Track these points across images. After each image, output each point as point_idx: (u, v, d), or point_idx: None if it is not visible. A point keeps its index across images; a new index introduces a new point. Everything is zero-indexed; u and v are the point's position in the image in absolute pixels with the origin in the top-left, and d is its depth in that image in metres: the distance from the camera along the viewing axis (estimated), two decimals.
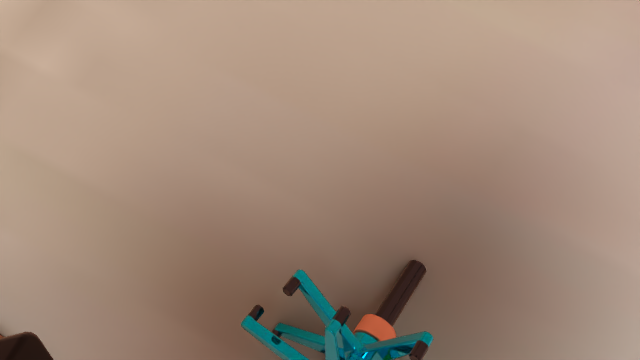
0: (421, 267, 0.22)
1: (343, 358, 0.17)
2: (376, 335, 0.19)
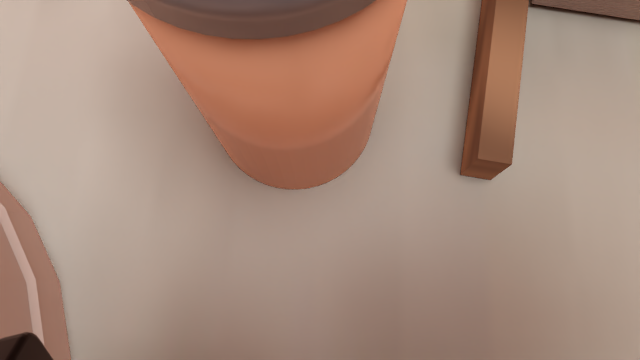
0: None
1: None
2: None
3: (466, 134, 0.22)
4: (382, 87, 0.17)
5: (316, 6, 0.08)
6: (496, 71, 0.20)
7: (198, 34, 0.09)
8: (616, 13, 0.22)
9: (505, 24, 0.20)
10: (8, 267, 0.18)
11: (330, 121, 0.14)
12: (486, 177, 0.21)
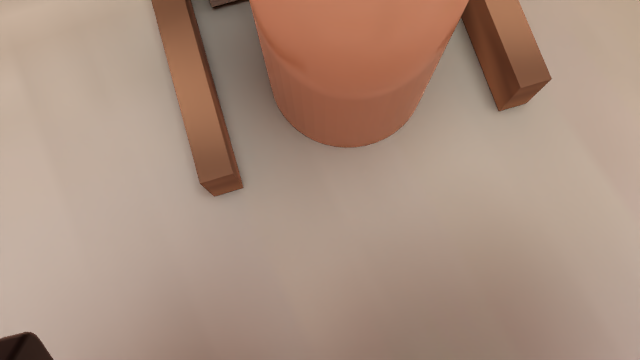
0: None
1: None
2: None
3: None
4: None
5: None
6: (184, 93, 0.20)
7: None
8: None
9: (175, 45, 0.20)
10: None
11: (416, 59, 0.15)
12: (236, 188, 0.21)
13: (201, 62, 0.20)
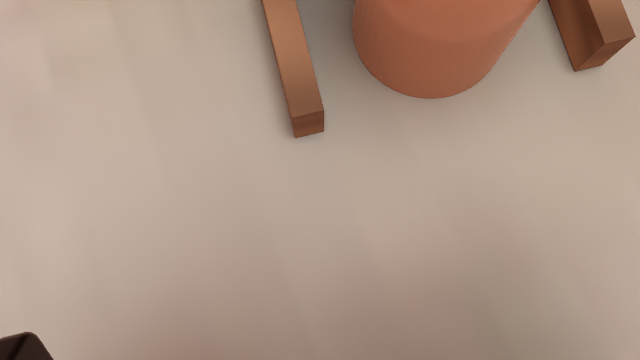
0: None
1: None
2: None
3: None
4: None
5: None
6: (279, 32, 0.20)
7: None
8: None
9: None
10: None
11: None
12: (318, 130, 0.22)
13: (295, 4, 0.21)
